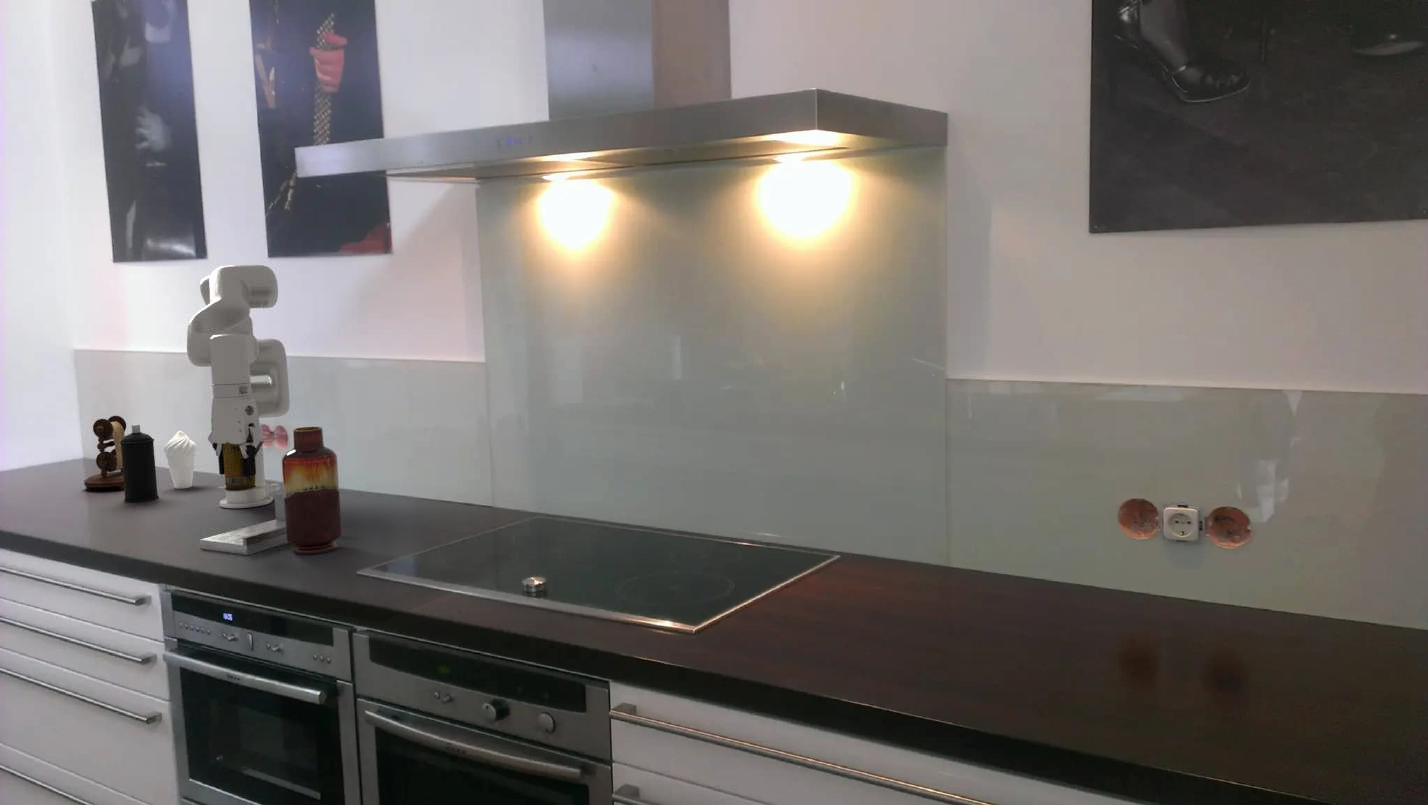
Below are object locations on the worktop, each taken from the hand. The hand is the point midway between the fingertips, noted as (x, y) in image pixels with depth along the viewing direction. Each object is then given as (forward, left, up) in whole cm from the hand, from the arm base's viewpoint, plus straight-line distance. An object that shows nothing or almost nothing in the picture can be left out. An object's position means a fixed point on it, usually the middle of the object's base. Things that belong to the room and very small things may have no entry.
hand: (237, 473), depth 235 cm
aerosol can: (-27, -68, -16) cm, 75 cm away
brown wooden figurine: (-36, -91, -16) cm, 99 cm away
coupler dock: (-6, 0, -16) cm, 17 cm away
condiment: (0, +1, -3) cm, 3 cm away
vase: (-4, +17, -16) cm, 24 cm away
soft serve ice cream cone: (-43, -72, -16) cm, 85 cm away
